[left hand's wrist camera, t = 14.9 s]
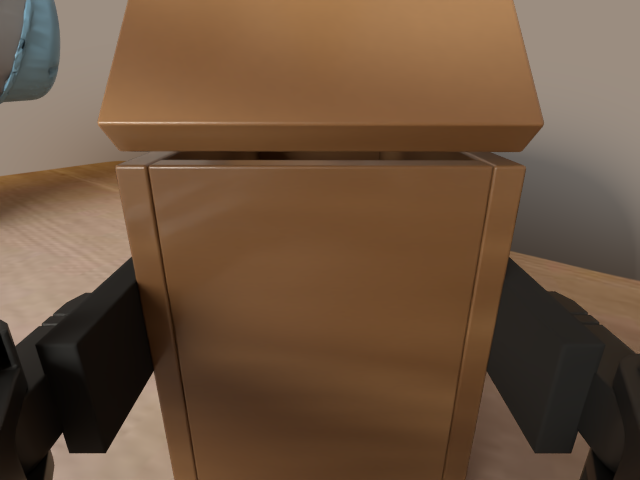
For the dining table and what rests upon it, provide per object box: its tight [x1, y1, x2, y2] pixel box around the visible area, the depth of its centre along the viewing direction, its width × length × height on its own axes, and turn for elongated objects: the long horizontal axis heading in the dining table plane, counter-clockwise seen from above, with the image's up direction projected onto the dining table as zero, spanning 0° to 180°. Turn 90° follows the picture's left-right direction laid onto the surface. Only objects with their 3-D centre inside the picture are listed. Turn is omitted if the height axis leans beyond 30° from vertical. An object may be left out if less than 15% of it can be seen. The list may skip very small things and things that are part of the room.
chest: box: [115, 151, 526, 480], centre depth 18 cm, size 17×9×10 cm, turn 0°
